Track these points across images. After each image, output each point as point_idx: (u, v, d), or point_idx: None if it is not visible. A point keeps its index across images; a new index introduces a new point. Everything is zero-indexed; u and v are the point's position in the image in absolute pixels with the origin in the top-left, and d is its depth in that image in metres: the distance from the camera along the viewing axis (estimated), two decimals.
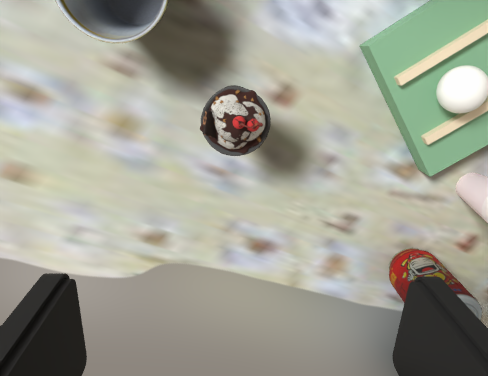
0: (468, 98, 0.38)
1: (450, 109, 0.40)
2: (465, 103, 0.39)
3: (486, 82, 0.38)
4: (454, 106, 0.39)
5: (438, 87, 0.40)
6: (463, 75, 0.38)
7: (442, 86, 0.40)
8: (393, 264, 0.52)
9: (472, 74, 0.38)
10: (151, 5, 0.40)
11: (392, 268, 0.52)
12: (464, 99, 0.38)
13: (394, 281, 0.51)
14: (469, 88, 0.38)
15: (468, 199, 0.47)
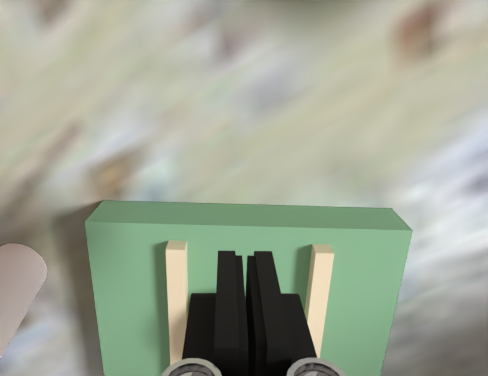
0: None
1: None
2: None
3: None
4: None
5: None
6: None
7: None
8: None
9: None
10: None
11: None
12: None
13: None
14: None
15: None
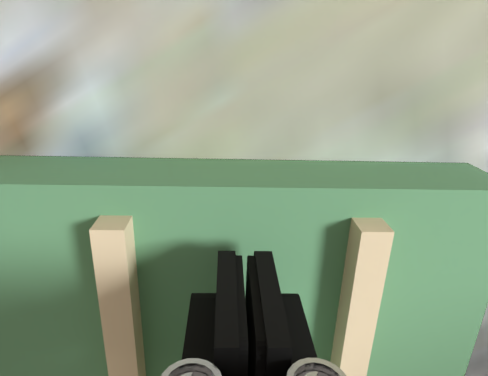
0: None
1: None
2: None
3: None
4: None
5: None
6: None
7: None
8: None
9: None
10: None
11: None
12: None
13: None
14: None
15: None
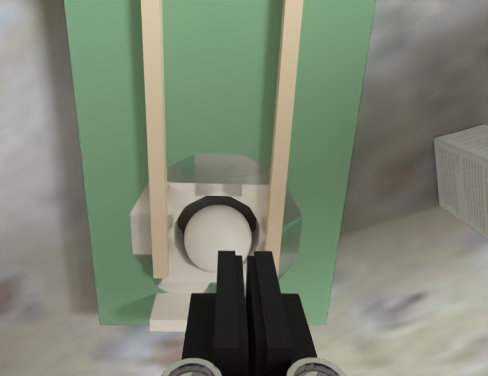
0: None
1: None
2: None
3: None
4: None
5: (241, 238, 0.26)
6: None
7: (247, 243, 0.26)
8: None
9: None
10: None
11: None
12: None
13: None
14: None
15: None
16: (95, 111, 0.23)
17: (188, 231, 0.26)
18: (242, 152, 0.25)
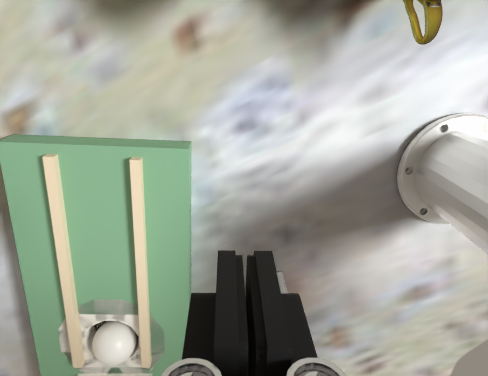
0: None
1: (111, 364, 0.44)
2: None
3: None
4: None
5: (124, 347, 0.43)
6: None
7: (129, 348, 0.44)
8: None
9: None
10: None
11: None
12: None
13: None
14: None
15: None
16: (33, 279, 0.41)
17: (93, 341, 0.44)
18: (122, 298, 0.42)
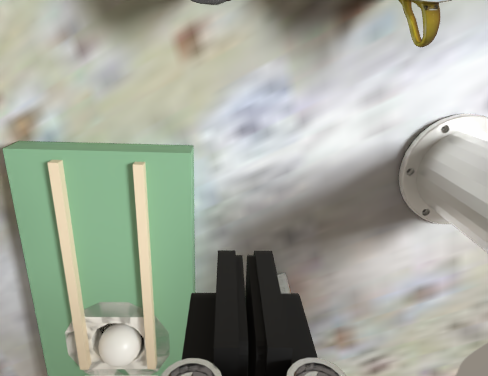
0: None
1: (117, 366, 0.44)
2: None
3: None
4: (123, 365, 0.45)
5: (129, 348, 0.44)
6: (141, 342, 0.46)
7: (134, 350, 0.44)
8: None
9: None
10: None
11: None
12: None
13: None
14: None
15: None
16: (40, 283, 0.41)
17: (99, 343, 0.44)
18: (127, 301, 0.43)
